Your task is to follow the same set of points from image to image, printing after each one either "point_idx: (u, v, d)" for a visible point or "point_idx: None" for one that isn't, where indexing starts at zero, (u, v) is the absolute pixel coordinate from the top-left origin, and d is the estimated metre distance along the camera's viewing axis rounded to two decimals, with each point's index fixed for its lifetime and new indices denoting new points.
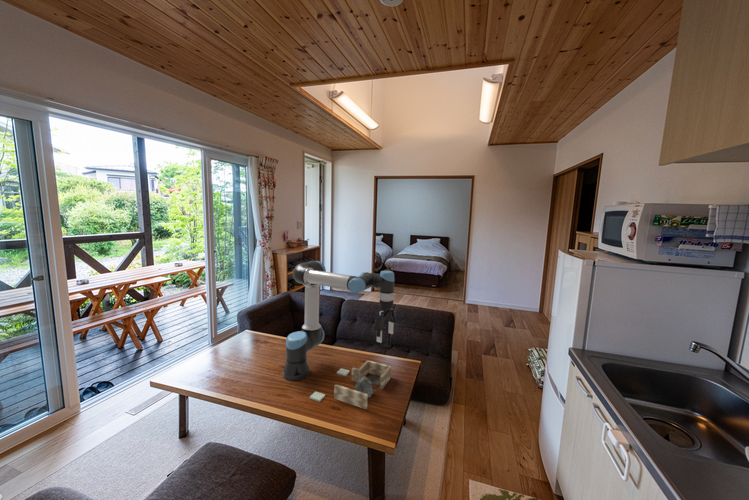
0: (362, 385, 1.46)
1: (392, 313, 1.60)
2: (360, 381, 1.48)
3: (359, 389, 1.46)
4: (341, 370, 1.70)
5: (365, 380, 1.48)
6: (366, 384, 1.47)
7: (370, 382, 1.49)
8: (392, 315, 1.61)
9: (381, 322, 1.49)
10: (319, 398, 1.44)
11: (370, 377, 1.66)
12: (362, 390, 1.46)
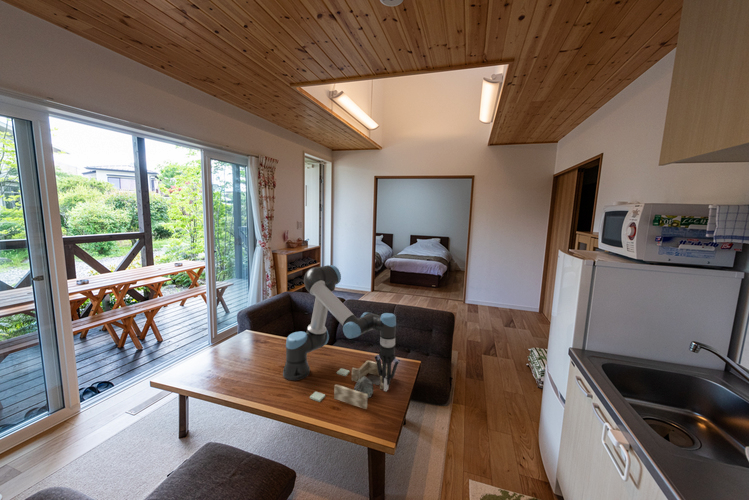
0: (362, 385, 1.46)
1: (393, 368, 1.41)
2: (360, 381, 1.48)
3: (359, 389, 1.46)
4: (341, 370, 1.70)
5: (365, 380, 1.48)
6: (366, 384, 1.47)
7: (370, 382, 1.49)
8: None
9: None
10: (319, 398, 1.44)
11: (370, 377, 1.66)
12: (362, 390, 1.46)
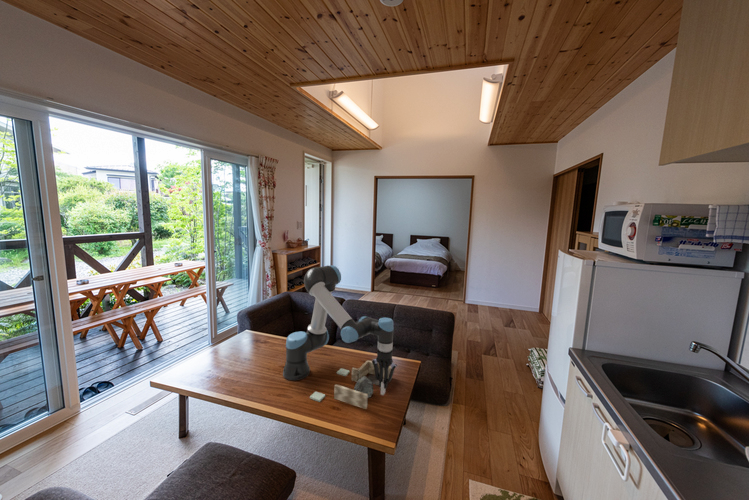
0: (362, 385, 1.46)
1: (390, 372, 1.42)
2: (360, 381, 1.48)
3: (359, 389, 1.46)
4: (341, 370, 1.70)
5: (365, 380, 1.48)
6: (366, 384, 1.47)
7: (370, 382, 1.49)
8: None
9: (380, 372, 1.44)
10: (319, 398, 1.44)
11: (370, 377, 1.66)
12: (362, 390, 1.46)
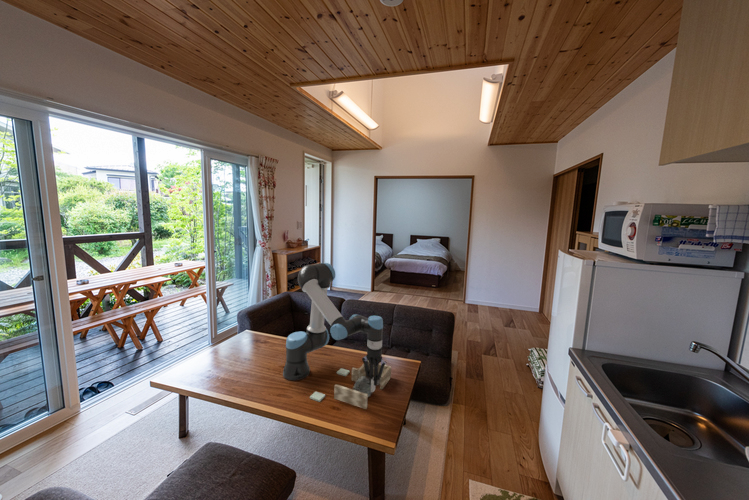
0: (361, 385, 1.46)
1: None
2: (359, 381, 1.48)
3: (358, 389, 1.46)
4: (341, 370, 1.70)
5: (364, 380, 1.48)
6: (365, 384, 1.47)
7: None
8: (379, 372, 1.45)
9: None
10: (319, 398, 1.44)
11: None
12: (361, 390, 1.46)
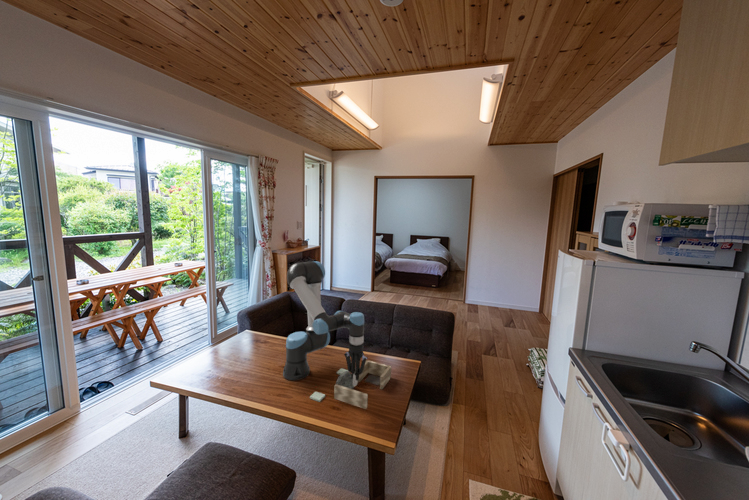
0: (343, 379, 1.51)
1: (361, 364, 1.48)
2: (342, 375, 1.53)
3: (340, 383, 1.51)
4: (341, 370, 1.70)
5: (346, 374, 1.52)
6: (347, 378, 1.51)
7: None
8: None
9: None
10: (319, 398, 1.44)
11: (370, 377, 1.66)
12: (343, 384, 1.51)
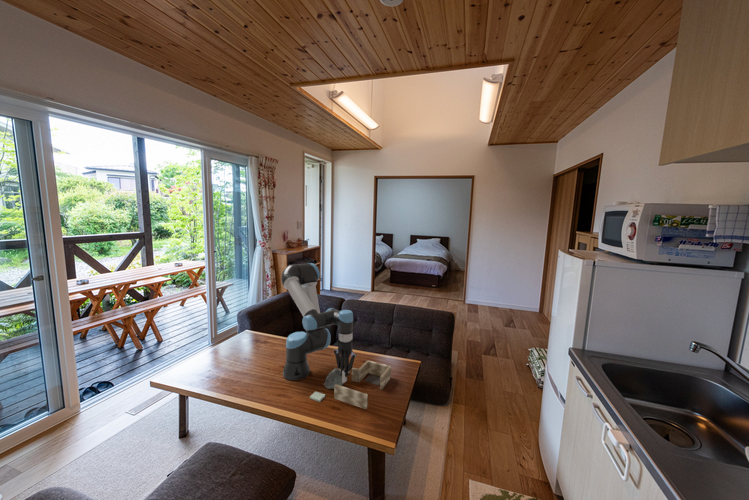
0: (333, 376, 1.53)
1: (350, 361, 1.51)
2: (331, 372, 1.55)
3: (330, 380, 1.53)
4: None
5: (336, 371, 1.55)
6: (337, 375, 1.54)
7: None
8: None
9: (341, 361, 1.53)
10: (319, 398, 1.44)
11: (370, 377, 1.66)
12: (333, 381, 1.53)
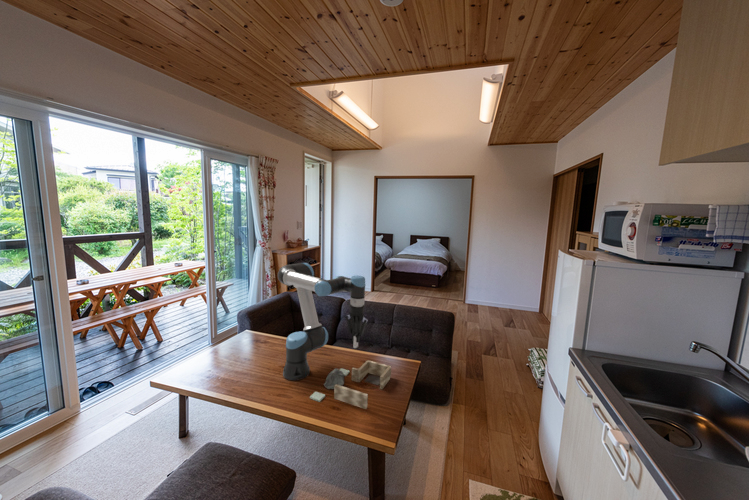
0: (333, 376, 1.53)
1: None
2: (331, 373, 1.55)
3: (330, 380, 1.53)
4: (341, 370, 1.70)
5: (336, 372, 1.55)
6: (337, 375, 1.54)
7: (341, 374, 1.56)
8: (361, 329, 1.52)
9: None
10: (319, 398, 1.44)
11: (370, 377, 1.66)
12: (333, 381, 1.53)
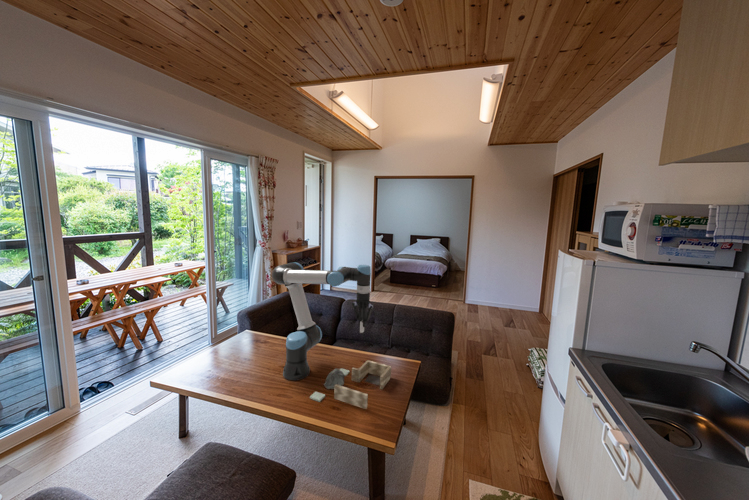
0: (333, 376, 1.53)
1: None
2: (331, 372, 1.55)
3: (330, 380, 1.53)
4: (341, 370, 1.70)
5: (336, 372, 1.55)
6: (337, 375, 1.54)
7: (341, 374, 1.56)
8: (367, 314, 1.62)
9: (359, 313, 1.64)
10: (319, 398, 1.44)
11: (370, 377, 1.66)
12: (333, 381, 1.53)
